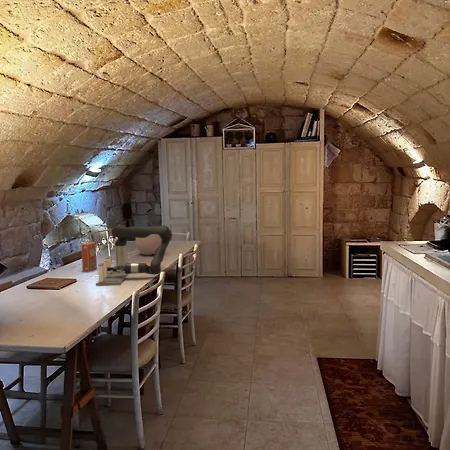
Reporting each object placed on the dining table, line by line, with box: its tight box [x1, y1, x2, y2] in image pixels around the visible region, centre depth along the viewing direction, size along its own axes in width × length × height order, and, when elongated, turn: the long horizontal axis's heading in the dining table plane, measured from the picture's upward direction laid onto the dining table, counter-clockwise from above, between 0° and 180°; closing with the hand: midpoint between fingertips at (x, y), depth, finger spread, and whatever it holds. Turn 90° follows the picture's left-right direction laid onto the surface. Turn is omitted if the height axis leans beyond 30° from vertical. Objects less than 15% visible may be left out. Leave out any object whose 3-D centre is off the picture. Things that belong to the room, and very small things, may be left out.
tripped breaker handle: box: [102, 259, 108, 278], centre depth 301 cm, size 3×5×12 cm, turn 4°
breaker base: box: [95, 255, 128, 287], centre depth 301 cm, size 16×35×14 cm, turn 4°
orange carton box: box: [80, 241, 98, 273], centre depth 331 cm, size 21×7×15 cm
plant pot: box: [135, 223, 161, 256], centre depth 393 cm, size 24×24×30 cm
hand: (107, 269), depth 300 cm, fingers closed
